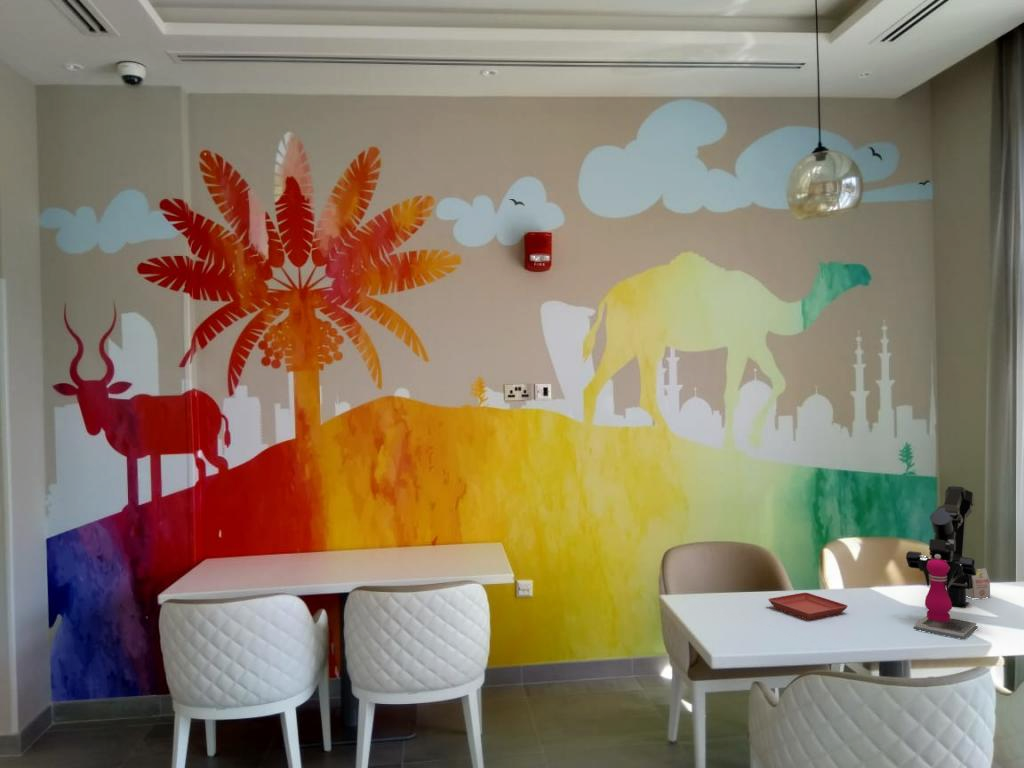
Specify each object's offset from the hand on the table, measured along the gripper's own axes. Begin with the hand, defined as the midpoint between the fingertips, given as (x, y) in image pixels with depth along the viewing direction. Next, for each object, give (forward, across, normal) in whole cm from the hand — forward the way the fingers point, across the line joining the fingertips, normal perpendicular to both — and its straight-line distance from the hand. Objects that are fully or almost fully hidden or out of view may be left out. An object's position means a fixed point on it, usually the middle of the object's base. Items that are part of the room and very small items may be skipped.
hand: (937, 586), depth 236 cm
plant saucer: (+12, -38, +7) cm, 40 cm away
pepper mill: (+6, 0, +8) cm, 10 cm away
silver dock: (+8, +2, +10) cm, 13 cm away
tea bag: (-23, +4, +42) cm, 48 cm away
